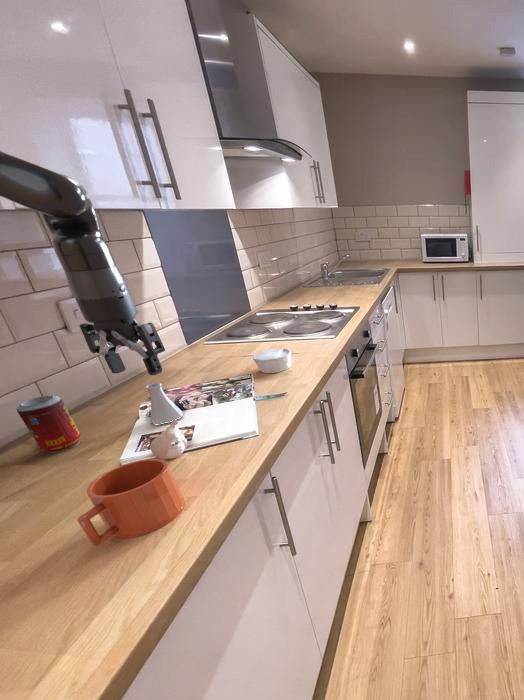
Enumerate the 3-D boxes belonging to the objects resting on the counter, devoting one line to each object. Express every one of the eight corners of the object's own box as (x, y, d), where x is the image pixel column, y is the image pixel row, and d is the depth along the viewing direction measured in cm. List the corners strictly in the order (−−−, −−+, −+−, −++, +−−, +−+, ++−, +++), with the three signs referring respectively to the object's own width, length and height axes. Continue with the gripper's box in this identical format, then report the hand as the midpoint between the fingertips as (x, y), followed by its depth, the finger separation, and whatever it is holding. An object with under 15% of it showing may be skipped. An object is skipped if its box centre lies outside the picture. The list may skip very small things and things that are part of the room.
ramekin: (299, 367, 139) (295, 353, 137) (263, 377, 132) (259, 362, 129) (287, 359, 146) (283, 345, 144) (252, 368, 139) (248, 354, 136)
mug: (149, 494, 81) (130, 457, 77) (199, 498, 80) (182, 460, 76) (70, 552, 68) (43, 510, 64) (128, 557, 67) (104, 515, 63)
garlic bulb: (193, 455, 93) (180, 425, 89) (158, 467, 89) (143, 436, 85) (188, 444, 97) (176, 414, 94) (154, 455, 93) (140, 425, 90)
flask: (153, 429, 103) (137, 394, 99) (148, 419, 108) (132, 385, 104) (187, 418, 108) (173, 384, 104) (181, 409, 113) (167, 376, 108)
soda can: (41, 447, 97) (13, 401, 91) (82, 435, 102) (58, 390, 96) (43, 458, 92) (14, 411, 87) (85, 445, 97) (61, 399, 92)
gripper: (46, 297, 73) (88, 379, 80) (115, 298, 71) (151, 382, 78) (90, 288, 80) (125, 364, 87) (154, 289, 78) (185, 367, 85)
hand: (138, 373), depth 83 cm, fingers open, 8 cm apart
